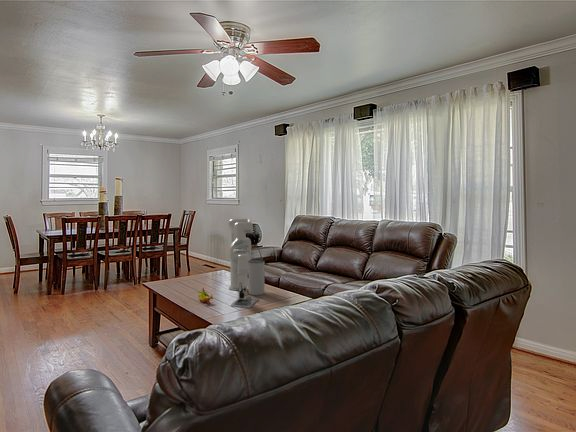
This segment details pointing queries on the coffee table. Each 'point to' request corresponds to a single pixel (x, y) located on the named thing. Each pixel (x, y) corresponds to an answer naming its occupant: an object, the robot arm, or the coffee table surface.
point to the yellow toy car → (204, 296)
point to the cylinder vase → (256, 277)
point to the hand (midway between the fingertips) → (243, 296)
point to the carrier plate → (244, 302)
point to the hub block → (244, 295)
